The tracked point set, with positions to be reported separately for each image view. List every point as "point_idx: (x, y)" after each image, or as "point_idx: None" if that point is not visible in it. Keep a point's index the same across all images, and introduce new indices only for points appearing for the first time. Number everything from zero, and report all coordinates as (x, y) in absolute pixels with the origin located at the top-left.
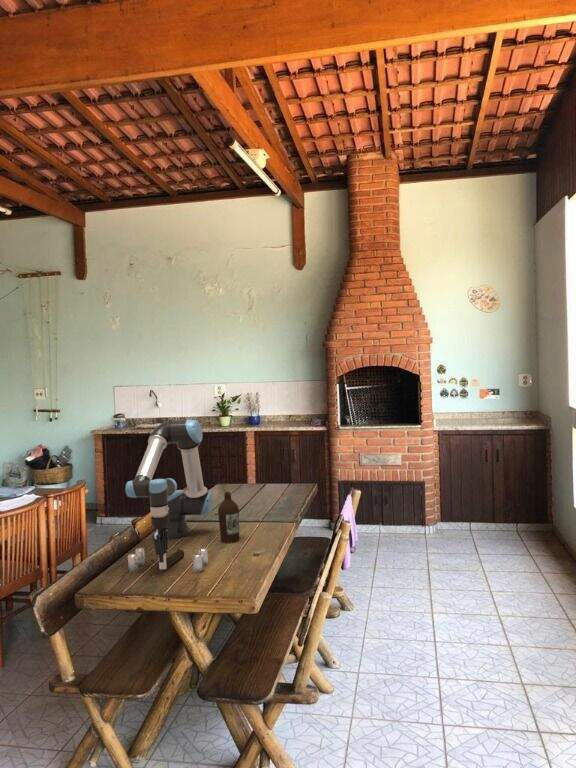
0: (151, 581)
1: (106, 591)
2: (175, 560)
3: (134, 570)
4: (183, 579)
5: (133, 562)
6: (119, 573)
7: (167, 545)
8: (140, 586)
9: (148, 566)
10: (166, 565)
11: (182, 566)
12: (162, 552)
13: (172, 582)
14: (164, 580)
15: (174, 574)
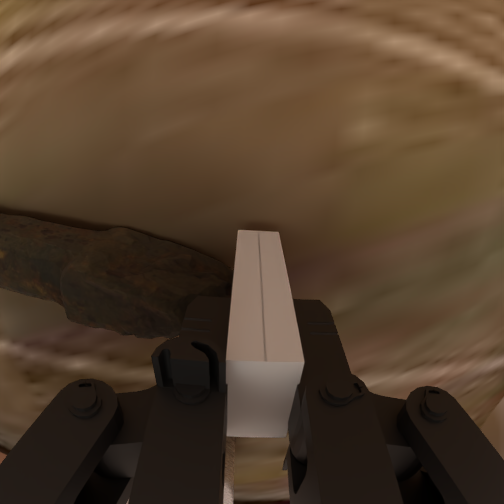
0: (446, 278)
1: (472, 418)
2: (8, 216)
3: (228, 436)
4: (443, 8)
5: (228, 483)
6: (253, 467)
7: (28, 447)
8: (494, 313)
9: (122, 386)
10: (159, 256)
11: (77, 105)
12: (374, 424)
13: (495, 98)
14: (453, 175)
15: (315, 107)
